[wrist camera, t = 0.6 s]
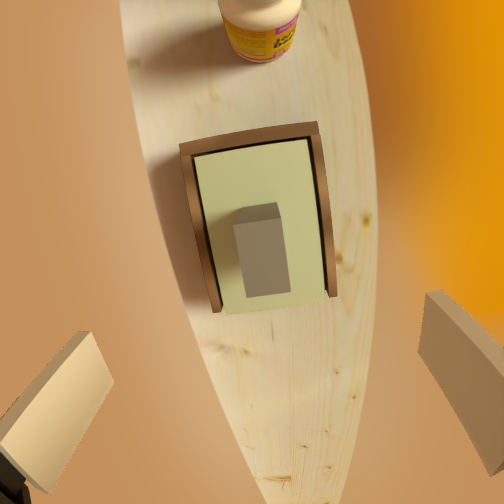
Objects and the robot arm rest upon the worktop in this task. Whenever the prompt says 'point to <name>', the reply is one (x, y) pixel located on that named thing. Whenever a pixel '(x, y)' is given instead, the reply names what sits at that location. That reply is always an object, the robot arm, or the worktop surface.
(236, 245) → the lid
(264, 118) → the worktop surface
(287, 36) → the supplement bottle
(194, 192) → the box
